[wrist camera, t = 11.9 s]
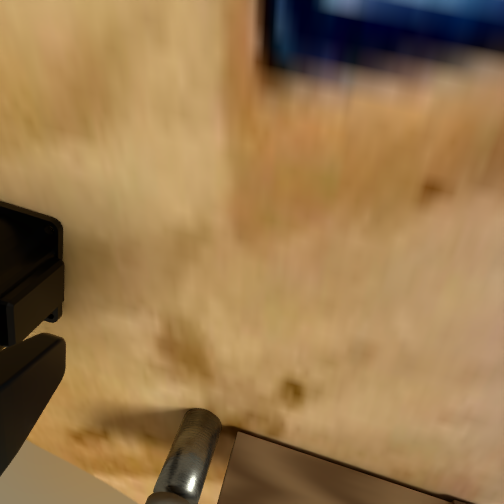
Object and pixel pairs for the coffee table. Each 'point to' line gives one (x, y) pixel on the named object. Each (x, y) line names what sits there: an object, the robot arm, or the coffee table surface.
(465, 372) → the coffee table surface
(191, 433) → the hinge post
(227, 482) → the gate
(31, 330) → the robot arm
